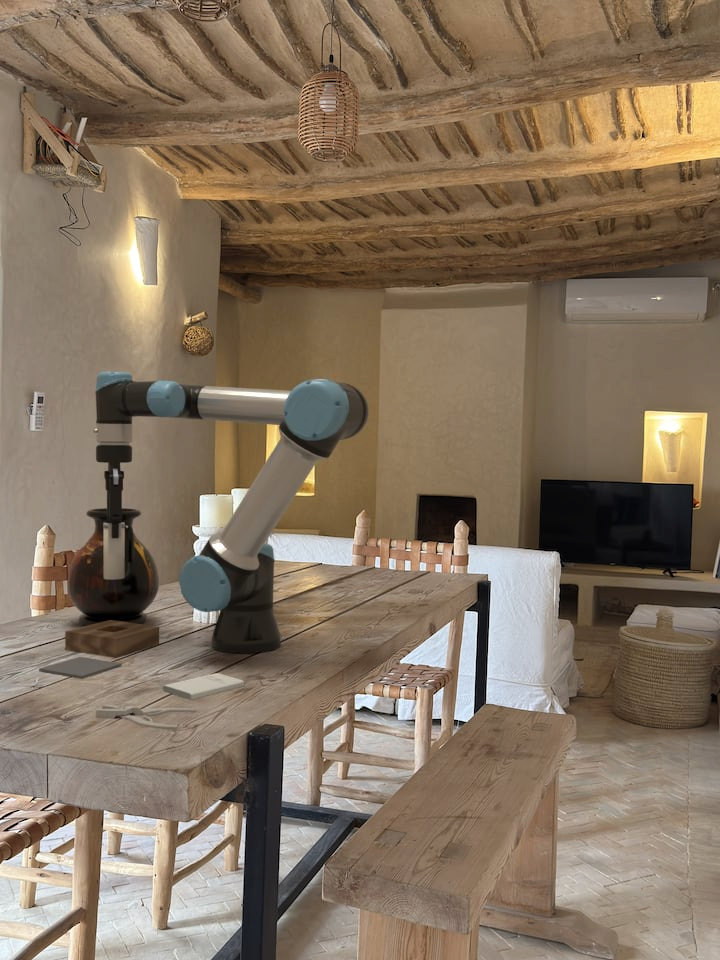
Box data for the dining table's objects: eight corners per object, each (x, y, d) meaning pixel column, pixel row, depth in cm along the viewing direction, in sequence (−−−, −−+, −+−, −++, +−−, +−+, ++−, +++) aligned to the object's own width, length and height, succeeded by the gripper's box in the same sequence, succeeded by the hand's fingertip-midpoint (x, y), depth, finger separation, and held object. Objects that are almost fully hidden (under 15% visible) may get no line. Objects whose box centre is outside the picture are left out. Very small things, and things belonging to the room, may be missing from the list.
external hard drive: (162, 693, 164) (215, 680, 174) (191, 702, 159) (244, 688, 168) (162, 684, 164) (215, 671, 174) (191, 693, 159) (244, 679, 168)
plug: (129, 577, 197) (129, 522, 197) (114, 580, 193) (114, 524, 193) (113, 575, 199) (113, 521, 199) (98, 578, 195) (98, 523, 195)
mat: (121, 665, 181) (121, 663, 181) (81, 678, 171) (81, 676, 171) (80, 659, 186) (80, 656, 186) (39, 671, 176) (39, 668, 176)
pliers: (176, 721, 143) (86, 716, 145) (176, 731, 143) (86, 725, 145) (196, 703, 153) (111, 698, 155) (196, 712, 153) (111, 707, 155)
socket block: (159, 644, 200) (159, 626, 200) (115, 657, 188) (115, 638, 188) (110, 637, 207) (110, 619, 206) (65, 649, 194) (65, 631, 194)
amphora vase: (174, 627, 219) (175, 511, 217) (87, 638, 205) (88, 515, 204) (135, 612, 236) (136, 505, 234) (53, 622, 222) (53, 508, 221)
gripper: (94, 443, 202) (94, 547, 203) (97, 444, 186) (97, 557, 187) (129, 443, 205) (128, 546, 206) (135, 444, 188) (135, 556, 189)
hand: (114, 551), depth 196 cm, fingers closed on plug, 4 cm apart
